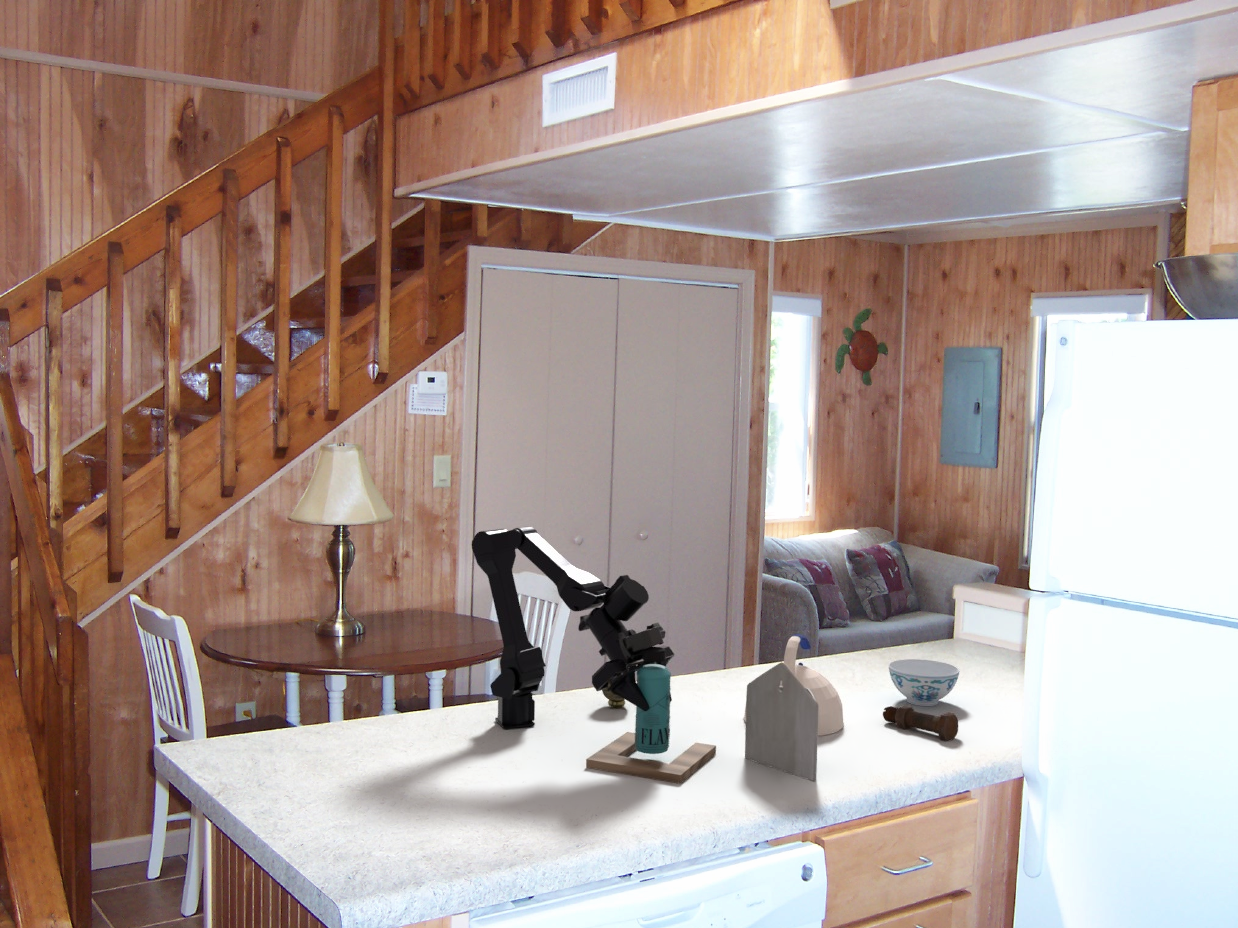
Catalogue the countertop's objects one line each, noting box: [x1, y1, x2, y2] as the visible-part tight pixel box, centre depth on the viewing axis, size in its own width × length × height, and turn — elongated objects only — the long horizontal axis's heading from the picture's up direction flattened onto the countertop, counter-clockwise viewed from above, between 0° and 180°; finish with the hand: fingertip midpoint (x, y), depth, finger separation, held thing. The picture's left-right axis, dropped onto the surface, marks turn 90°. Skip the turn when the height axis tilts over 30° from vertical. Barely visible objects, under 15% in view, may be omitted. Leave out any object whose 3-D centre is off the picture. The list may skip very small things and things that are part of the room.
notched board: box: [585, 731, 717, 785], centre depth 206 cm, size 18×18×2 cm
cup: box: [601, 681, 626, 709], centre depth 240 cm, size 8×7×8 cm
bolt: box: [882, 704, 959, 742], centre depth 227 cm, size 6×5×15 cm
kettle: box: [743, 634, 845, 737], centre depth 231 cm, size 20×21×18 cm
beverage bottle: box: [633, 646, 672, 755], centre depth 206 cm, size 6×7×20 cm
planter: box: [744, 662, 819, 782], centre depth 204 cm, size 16×8×19 cm, turn 42°
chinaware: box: [888, 658, 960, 707], centre depth 248 cm, size 15×15×8 cm
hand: (659, 705), depth 205 cm, fingers closed on beverage bottle, 6 cm apart
